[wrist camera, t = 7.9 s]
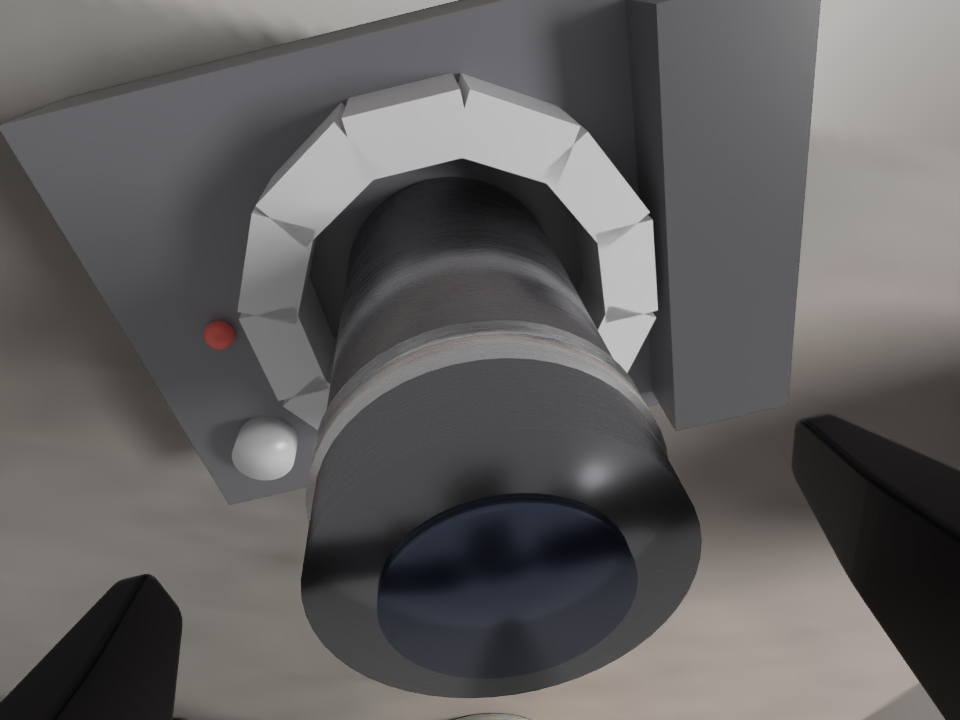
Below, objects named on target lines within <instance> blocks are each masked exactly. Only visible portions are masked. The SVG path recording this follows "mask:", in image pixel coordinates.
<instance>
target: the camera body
mask: <svg viewBox="0 0 960 720" xmlns="http://www.w3.org/2000/svg"><path fill="white" fill-rule="evenodd" d="M820 1H821V0H458V1H455V2H450V3H446V4H442V5H438V6H434V7H430V8H426V9H422V10H418V11H414V12H410V13H406V14H402V15H398V16H394V17H390V18H386V19H382V20H378V21H374V22H370V23H366V24H362V25H358V26H354V27H350V28H346V29H342V30H338V31H334V32H330V33H326V34H322V35H318V36H314V37H310V38H306V39H302V40H297V41H293V42H289V43H285V44H281V45H277V46H273V47H269V48H265V49H261V50H257V51H253V52H249V53H245V54H241V55H237V56H233V57H229V58H225V59H221V60H217V61H213V62H209V63H205V64H201V65H197V66H193V67H189V68H185V69H181V70H177V71H173V72H169V73H165V74H161V75H157V76H153V77H149V78H145V79H141V80H137V81H133V82H129V83H125V84H121V85H117V86H113V87H109V88H105V89H101V90H97V91H92V92H88V93H84V94H80V95H76V96H72V97H68V98H64V99H62V100H59V101H57V102H55V103H52V104H50V105H47V106H45V107H42V108H40V109H37V110H35V111H32V112H30V113H28V114H25V115H23V116H20V117H18V118H15V119H13V120H10V121H8V122H5V123H3V124H1V125H0V131H1V133H2V134H3V136H4V137H5V139H6V141H7V142H8V144H9V146H10V147H11V149H12V151H13V152H14V154H15V155H16V157H17V159H18V160H19V162H20V164H21V165H22V167H23V169H24V170H25V172H26V173H27V175H28V177H29V178H30V180H31V182H32V183H33V185H34V187H35V188H36V190H37V191H38V193H39V195H40V196H41V198H42V200H43V201H44V203H45V205H46V206H47V208H48V209H49V211H50V213H51V214H52V216H53V218H54V219H55V221H56V223H57V224H58V226H59V227H60V229H61V231H62V232H63V234H64V236H65V237H66V239H67V241H68V242H69V244H70V245H71V247H72V249H73V250H74V252H75V254H76V255H77V257H78V258H79V260H80V262H81V263H82V265H83V267H84V268H85V270H86V272H87V273H88V275H89V276H90V278H91V280H92V281H93V283H94V285H95V286H96V288H97V290H98V291H99V293H100V294H101V296H102V298H103V299H104V301H105V303H106V304H107V306H108V308H109V309H110V311H111V312H112V314H113V316H114V317H115V319H116V321H117V322H118V324H119V326H120V327H121V329H122V330H123V332H124V334H125V335H126V337H127V339H128V340H129V342H130V344H131V345H132V347H133V348H134V350H135V352H136V353H137V355H138V357H139V358H140V360H141V361H142V363H143V365H144V366H145V368H146V370H147V371H148V373H149V375H150V376H151V378H152V379H153V381H154V383H155V384H156V386H157V388H158V389H159V391H160V393H161V394H162V396H163V397H164V399H165V401H166V402H167V404H168V406H169V407H170V409H171V411H172V412H173V414H174V415H175V417H176V419H177V420H178V422H179V424H180V425H181V427H182V429H183V430H184V432H185V433H186V435H187V437H188V438H189V440H190V442H191V443H192V445H193V447H194V448H195V450H196V451H197V453H198V455H199V456H200V458H201V460H202V461H203V463H204V465H205V466H206V468H207V469H208V471H209V473H210V474H211V476H212V478H213V479H214V481H215V482H216V484H217V486H218V487H219V489H220V491H221V492H222V494H223V496H224V497H225V499H226V500H227V502H228V504H229V505H232V504H236V503H240V502H244V501H249V500H253V499H257V498H261V497H266V496H270V495H274V494H278V493H283V492H287V491H291V490H295V489H300V488H304V487H307V486H308V480H309V473H310V467H311V461H312V455H313V449H314V443H315V437H316V434H317V431H318V429H319V426H320V423H321V420H322V418H323V416H324V414H325V412H326V410H327V403H328V397H329V390H330V383H331V377H332V370H333V363H334V357H335V350H336V343H337V337H338V330H339V323H340V317H341V310H342V303H343V297H344V290H345V283H346V277H347V270H348V263H349V257H350V252H351V249H352V246H353V243H354V240H355V238H356V236H357V234H358V232H359V230H360V228H361V226H362V225H363V223H364V222H365V220H366V219H367V217H368V216H369V215H370V214H371V213H372V212H373V211H374V210H375V209H376V207H378V206H379V205H380V204H381V203H382V202H383V201H385V200H386V199H387V198H388V197H390V196H392V195H393V194H395V193H396V192H398V191H399V190H402V189H404V188H406V187H408V186H410V185H412V184H415V183H419V182H422V181H425V180H430V179H436V178H443V177H461V178H471V179H475V180H480V181H484V182H487V183H489V184H492V185H495V186H497V187H499V188H501V189H503V190H505V191H507V192H508V193H510V194H511V195H513V196H514V197H515V198H517V199H518V200H520V201H521V202H522V203H523V204H524V205H525V206H526V207H527V208H528V209H529V210H530V211H531V213H532V214H533V215H534V217H535V218H536V219H537V220H538V222H539V224H540V226H541V228H542V229H543V231H544V233H545V235H546V237H547V238H548V240H549V242H550V244H551V246H552V248H553V249H554V251H555V253H556V255H557V257H558V259H559V260H560V262H561V264H562V266H563V268H564V270H565V271H566V273H567V275H568V277H569V279H570V281H571V282H572V284H573V286H574V288H575V290H576V292H577V293H578V295H579V297H580V299H581V301H582V303H583V304H584V306H585V308H586V310H587V312H588V314H589V315H590V317H591V319H592V321H593V323H594V324H595V326H596V328H597V330H598V332H599V334H600V335H601V337H602V339H603V341H604V343H605V345H606V346H607V348H608V350H609V352H610V354H611V356H612V357H613V359H614V360H615V361H616V362H617V363H618V364H619V365H621V367H622V368H623V369H624V370H625V371H626V373H627V374H628V375H629V376H630V378H631V379H632V380H633V382H634V384H635V385H636V387H637V389H638V391H639V393H640V394H641V396H642V398H643V400H644V401H645V403H646V405H647V407H648V406H652V405H657V404H660V405H661V407H662V409H663V410H664V412H665V414H666V415H667V417H668V419H669V420H670V422H671V424H672V426H673V427H674V429H675V431H678V430H683V429H687V428H691V427H695V426H700V425H704V424H708V423H712V422H717V421H721V420H725V419H730V418H734V417H738V416H742V415H747V414H751V413H755V412H759V411H764V410H768V409H772V408H776V407H781V406H785V405H788V396H789V384H790V372H791V359H792V347H793V335H794V322H795V310H796V298H797V285H798V273H799V261H800V248H801V236H802V224H803V211H804V199H805V187H806V174H807V162H808V150H809V137H810V125H811V113H812V100H813V88H814V76H815V63H816V51H817V38H818V26H819V13H820Z"/></svg>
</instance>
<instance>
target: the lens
mask: <svg viewBox="0 0 960 720" xmlns="http://www.w3.org/2000/svg"><path fill="white" fill-rule="evenodd" d="M306 505H307V516H308V521H309V530H308V537H307V543H306V550H305V557H304V563H303V570H302V577H301V594H302V602H303V605H304V609H305V613H306V616H307V618H308V620H309V623H310V625H311V627H312V629H313V631H314V632H315V634H316V635H317V636H318V638H319V639H320V640H321V642H322V643H323V645H324V646H325V647H326V648H327V649H328V650H330V651H331V652H332V653H333V654H334V655H335V656H336V657H337V658H338V659H339V660H341V661H342V662H344V663H345V664H346V665H348V666H349V667H350V668H352V669H354V670H355V671H357V672H359V673H361V674H363V675H365V676H366V677H368V678H371V679H373V680H376V681H378V682H380V683H383V684H385V685H388V686H391V687H395V688H398V689H402V690H405V691H409V692H414V693H420V694H425V695H431V696H441V697H452V698H483V697H498V696H506V695H514V694H520V693H525V692H530V691H536V690H540V689H543V688H547V687H551V686H555V685H558V684H561V683H564V682H567V681H570V680H573V679H576V678H579V677H581V676H583V675H586V674H588V673H590V672H593V671H595V670H597V669H599V668H601V667H603V666H605V665H607V664H609V663H611V662H613V661H615V660H616V659H618V658H620V657H621V656H623V655H624V654H626V653H628V652H629V651H631V650H632V649H634V648H635V647H637V646H638V645H639V644H641V643H642V642H643V641H644V640H646V639H647V638H648V637H650V636H651V635H652V634H653V633H654V632H655V631H656V630H657V629H658V628H659V627H660V626H661V625H662V624H664V623H665V622H666V621H667V619H668V618H669V617H670V616H671V615H672V613H673V612H674V611H675V610H676V609H677V607H678V606H679V605H680V603H681V601H682V600H683V598H684V597H685V595H686V594H687V592H688V590H689V588H690V586H691V584H692V582H693V579H694V577H695V575H696V571H697V568H698V564H699V560H700V554H701V542H702V540H701V531H700V523H699V520H698V517H697V514H696V511H695V508H694V506H693V504H692V502H691V500H690V499H689V497H688V495H687V493H686V491H685V489H684V488H683V486H682V484H681V482H680V480H679V478H678V477H677V475H676V473H675V471H674V469H673V467H672V466H671V464H670V462H669V460H668V457H667V450H666V445H665V442H664V439H663V436H662V433H661V430H660V428H659V426H658V425H657V423H656V421H655V419H654V417H653V416H652V414H651V412H650V410H649V409H648V407H647V405H646V403H645V401H644V400H643V398H642V396H641V394H640V393H639V391H638V389H637V387H636V385H635V384H634V382H633V380H632V379H631V378H630V376H629V375H628V374H627V373H626V371H625V370H624V369H623V368H622V367H621V365H619V364H618V363H617V362H616V361H615V360H614V359H613V357H612V356H611V354H610V352H609V350H608V348H607V346H606V345H605V343H604V341H603V339H602V337H601V335H600V334H599V332H598V330H597V328H596V326H595V324H594V323H593V321H592V319H591V317H590V315H589V314H588V312H587V310H586V308H585V306H584V304H583V303H582V301H581V299H580V297H579V295H578V293H577V292H576V290H575V288H574V286H573V284H572V282H571V281H570V279H569V277H568V275H567V273H566V271H565V270H564V268H563V266H562V264H561V262H560V260H559V259H558V257H557V255H556V253H555V251H554V249H553V248H552V246H551V244H550V242H549V240H548V238H547V237H546V235H545V233H544V231H543V229H542V228H541V226H540V224H539V222H538V220H537V219H536V218H535V217H534V215H533V214H532V213H531V211H530V210H529V209H528V208H527V207H526V206H525V205H524V204H523V203H522V202H521V201H520V200H518V199H517V198H515V197H514V196H513V195H511V194H510V193H508V192H507V191H505V190H503V189H501V188H499V187H497V186H495V185H492V184H489V183H487V182H484V181H480V180H475V179H471V178H461V177H443V178H436V179H430V180H425V181H422V182H419V183H415V184H412V185H410V186H408V187H406V188H404V189H402V190H399V191H398V192H396V193H395V194H393V195H392V196H390V197H388V198H387V199H386V200H385V201H383V202H382V203H381V204H380V205H379V206H378V207H376V209H375V210H374V211H373V212H372V213H371V214H370V215H369V216H368V217H367V219H366V220H365V222H364V223H363V225H362V226H361V228H360V230H359V232H358V234H357V236H356V238H355V240H354V243H353V246H352V249H351V252H350V257H349V263H348V270H347V277H346V283H345V290H344V297H343V303H342V310H341V317H340V323H339V330H338V337H337V343H336V350H335V357H334V363H333V370H332V377H331V383H330V390H329V397H328V403H327V410H326V412H325V414H324V416H323V418H322V420H321V423H320V426H319V429H318V431H317V434H316V437H315V443H314V449H313V455H312V461H311V467H310V473H309V480H308V486H307V493H306Z"/></svg>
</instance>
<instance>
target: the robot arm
mask: <svg viewBox="0 0 960 720" xmlns="http://www.w3.org/2000/svg"><path fill="white" fill-rule="evenodd" d="M792 470H793V474H794V477H795V479H796V481H797V483H798V485H799V487H800V489H801V491H802V493H803V495H804V496H805V498H806V500H807V502H808V504H809V506H810V508H811V509H812V511H813V513H814V515H815V517H816V519H817V521H818V522H819V524H820V526H821V528H822V530H823V532H824V534H825V535H826V537H827V539H828V541H829V543H830V545H831V547H832V548H833V550H834V552H835V554H836V556H837V558H838V560H839V561H840V563H841V565H842V567H843V568H844V570H845V572H846V574H847V575H848V577H849V579H850V581H851V582H852V584H853V585H854V587H855V588H856V590H857V591H858V593H859V594H860V596H861V597H862V599H863V600H864V602H865V603H866V605H867V606H868V608H869V609H870V610H871V612H872V613H873V615H874V616H875V618H876V619H877V621H878V622H879V624H880V625H881V626H882V628H883V629H884V631H885V632H886V634H887V635H888V637H889V638H890V640H891V641H892V643H893V644H894V645H895V647H896V648H897V650H898V651H899V653H900V654H901V656H902V657H903V659H904V660H905V661H906V663H907V664H908V666H909V667H910V669H911V670H912V672H913V673H914V675H915V676H916V678H917V679H918V680H919V682H920V683H921V685H922V686H923V688H924V689H925V690H926V692H927V694H928V695H929V696H930V698H931V699H932V701H933V702H934V704H935V705H936V707H937V708H938V710H939V711H940V712H941V714H942V715H943V717H944V718H945V720H960V470H958V469H956V468H954V467H951V466H949V465H947V464H945V463H942V462H940V461H938V460H936V459H933V458H931V457H929V456H926V455H924V454H922V453H920V452H917V451H915V450H913V449H911V448H908V447H906V446H904V445H901V444H899V443H897V442H895V441H892V440H890V439H888V438H886V437H883V436H881V435H879V434H877V433H874V432H872V431H870V430H867V429H865V428H863V427H861V426H858V425H856V424H854V423H852V422H849V421H847V420H845V419H842V418H840V417H838V416H836V415H833V414H828V413H827V414H820V415H816V416H811V417H807V418H803V419H801V420H799V421H798V422H797V424H796V426H795V432H794V442H793V453H792ZM181 634H182V616H181V612H180V610H179V607H178V606H177V604H176V603H175V602H174V601H173V599H172V598H171V597H170V595H169V594H168V593H167V592H166V590H165V589H164V588H163V586H162V585H161V584H160V583H159V581H158V580H157V579H156V578H155V577H154V576H152V575H150V574H143V575H139V576H135V577H131V578H126V579H123V580H120V581H118V582H117V583H115V584H114V585H113V586H112V587H111V588H110V589H109V590H108V591H107V592H106V594H105V595H104V596H103V597H102V598H101V599H100V600H99V601H98V602H97V603H96V604H95V605H94V606H93V607H92V608H91V609H90V610H89V611H88V612H87V613H86V614H85V615H84V616H83V617H82V618H81V619H80V621H79V622H78V623H77V624H76V625H75V626H74V627H73V628H72V629H71V630H70V631H69V632H68V633H67V634H66V635H65V636H64V637H63V638H62V639H61V640H60V641H59V642H58V643H57V644H56V645H55V647H54V648H53V649H52V650H51V651H50V652H49V653H48V654H47V655H46V656H45V657H44V658H43V659H42V660H41V661H40V662H39V663H38V664H37V665H36V666H35V667H34V668H33V669H32V670H31V671H30V673H29V674H28V675H27V676H26V677H25V678H24V679H23V680H22V681H21V682H20V683H19V684H18V685H17V686H16V687H15V688H14V689H13V690H12V691H11V692H10V693H9V694H8V695H7V696H6V697H5V698H4V700H3V701H2V702H1V703H0V720H173V711H174V701H175V692H176V682H177V672H178V663H179V653H180V644H181Z"/></svg>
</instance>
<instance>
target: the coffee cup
mask: <svg viewBox="0 0 960 720" xmlns="http://www.w3.org/2000/svg"><path fill="white" fill-rule="evenodd" d="M455 720H529V719H527V718H523V717H520V716H516V715H511V714H495V713H491V714H478V715H471V716H467V717H462V718H458V719H455Z"/></svg>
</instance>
